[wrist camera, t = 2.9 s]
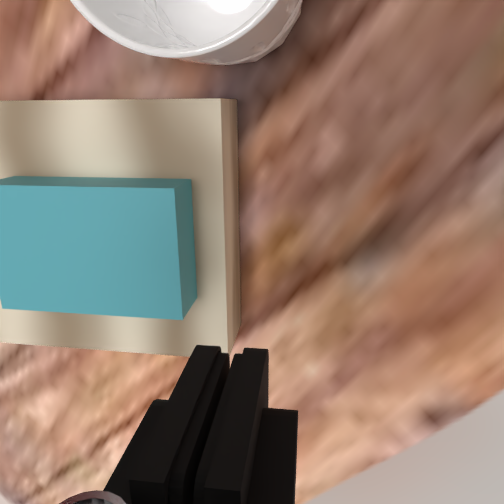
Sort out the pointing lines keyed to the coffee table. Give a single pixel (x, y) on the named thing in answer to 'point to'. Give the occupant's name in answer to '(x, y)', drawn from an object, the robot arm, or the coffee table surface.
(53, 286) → the teal block
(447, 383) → the coffee table surface
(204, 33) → the white cup
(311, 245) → the coffee table surface
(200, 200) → the beige block
